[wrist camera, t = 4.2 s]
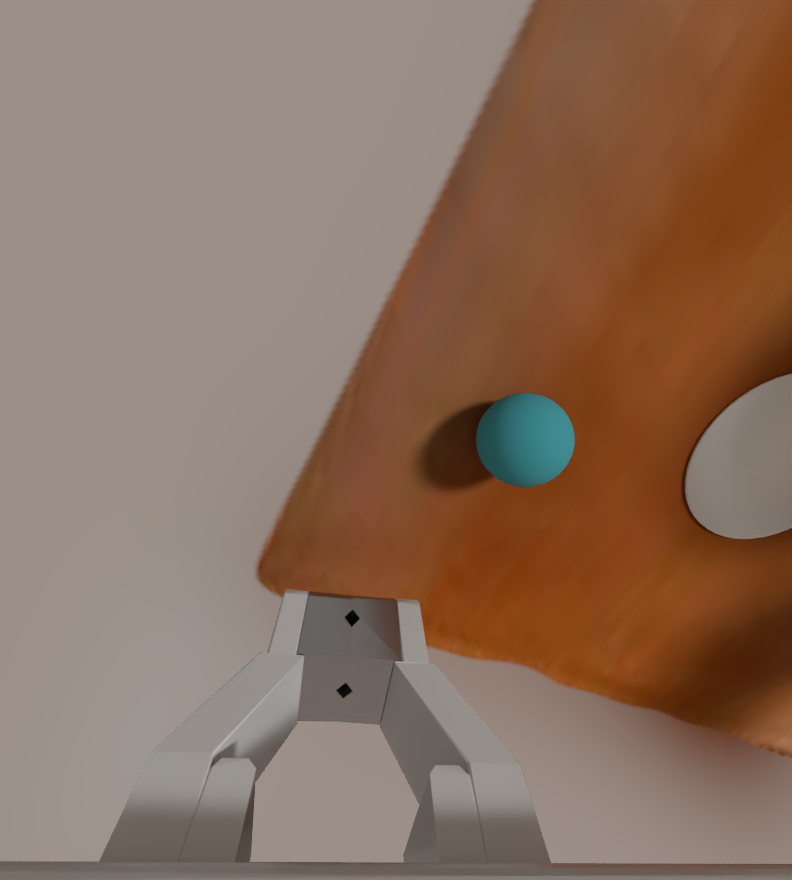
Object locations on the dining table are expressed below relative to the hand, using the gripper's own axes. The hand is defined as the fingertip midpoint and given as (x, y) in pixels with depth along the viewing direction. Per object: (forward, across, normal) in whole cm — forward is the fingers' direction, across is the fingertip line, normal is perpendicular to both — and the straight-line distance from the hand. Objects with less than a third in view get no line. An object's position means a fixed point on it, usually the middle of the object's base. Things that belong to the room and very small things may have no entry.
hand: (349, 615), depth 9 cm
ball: (+14, -10, 0) cm, 17 cm away
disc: (+17, -30, 0) cm, 34 cm away
